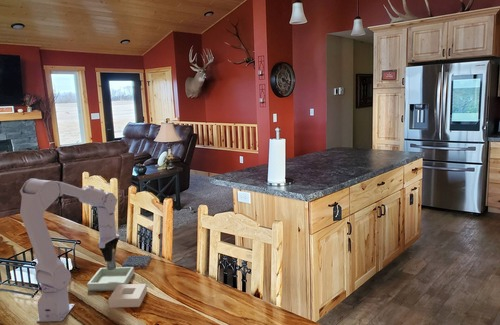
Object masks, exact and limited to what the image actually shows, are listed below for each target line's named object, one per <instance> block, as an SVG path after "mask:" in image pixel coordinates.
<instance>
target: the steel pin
mask: <svg viewBox="0 0 500 325" xmlns="http://www.w3.org/2000/svg"><path fill="white" fill-rule="evenodd" d="M116 263H117V262H116V253H115V251H114V248H113V251H112V261H110V262H106V268H107V269H108V270H114V269H115V268H116V267H117V264H116Z"/></svg>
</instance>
